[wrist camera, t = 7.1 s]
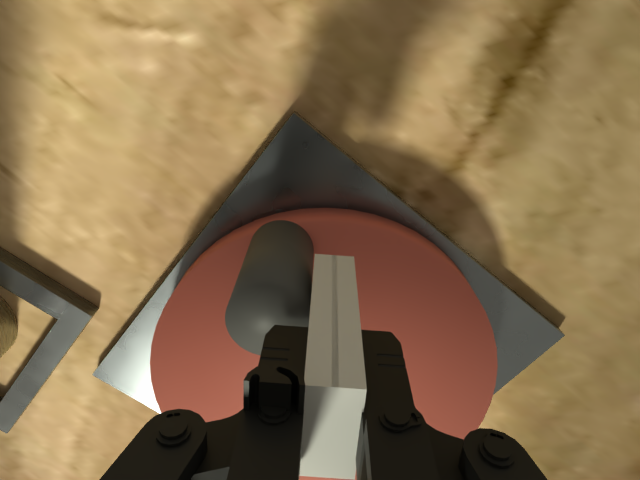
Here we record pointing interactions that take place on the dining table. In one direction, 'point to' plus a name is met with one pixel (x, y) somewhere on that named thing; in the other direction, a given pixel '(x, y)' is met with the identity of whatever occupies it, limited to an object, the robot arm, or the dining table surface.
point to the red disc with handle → (294, 310)
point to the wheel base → (325, 192)
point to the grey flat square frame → (69, 325)
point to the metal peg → (6, 327)
